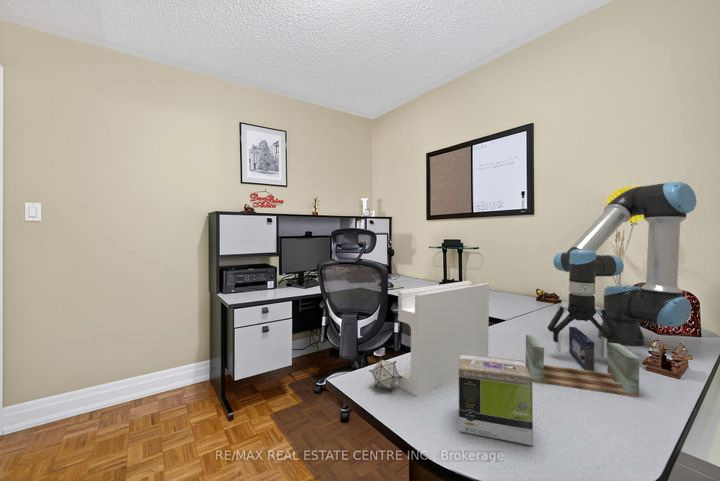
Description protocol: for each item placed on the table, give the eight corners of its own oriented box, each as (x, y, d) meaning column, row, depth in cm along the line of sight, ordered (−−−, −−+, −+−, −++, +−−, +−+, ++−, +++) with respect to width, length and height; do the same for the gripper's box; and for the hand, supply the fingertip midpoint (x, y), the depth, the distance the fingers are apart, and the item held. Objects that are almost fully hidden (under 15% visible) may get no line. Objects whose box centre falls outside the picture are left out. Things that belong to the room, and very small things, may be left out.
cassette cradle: (618, 378, 96) (619, 343, 96) (638, 397, 85) (639, 358, 85) (525, 365, 105) (525, 334, 105) (532, 381, 94) (532, 346, 93)
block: (418, 396, 84) (418, 295, 84) (397, 385, 91) (398, 290, 90) (488, 365, 106) (489, 283, 105) (467, 357, 112) (468, 280, 111)
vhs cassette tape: (568, 352, 118) (568, 326, 118) (577, 353, 117) (578, 327, 117) (583, 371, 101) (584, 341, 101) (594, 373, 100) (595, 342, 100)
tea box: (524, 420, 74) (525, 359, 74) (533, 448, 64) (534, 378, 64) (458, 408, 79) (459, 351, 79) (457, 432, 69) (458, 367, 69)
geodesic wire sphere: (384, 404, 88) (374, 385, 82) (371, 381, 95) (360, 362, 89) (410, 385, 89) (401, 365, 84) (395, 364, 96) (386, 345, 91)
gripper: (543, 293, 109) (542, 352, 110) (630, 298, 101) (629, 362, 101) (539, 289, 116) (538, 345, 117) (620, 294, 108) (618, 354, 108)
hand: (580, 353), depth 109 cm, fingers open, 13 cm apart
